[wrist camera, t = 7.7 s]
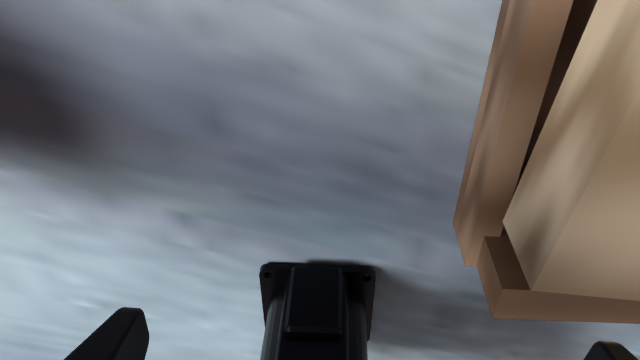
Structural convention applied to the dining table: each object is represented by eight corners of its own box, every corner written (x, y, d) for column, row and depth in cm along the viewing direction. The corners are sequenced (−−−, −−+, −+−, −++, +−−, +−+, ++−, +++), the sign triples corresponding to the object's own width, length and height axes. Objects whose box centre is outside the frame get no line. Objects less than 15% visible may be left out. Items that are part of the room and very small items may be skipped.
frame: (611, 227, 24) (678, 326, 19) (452, 222, 24) (479, 319, 19) (869, -297, 13) (1191, -379, 8) (568, -294, 13) (700, -371, 8)
